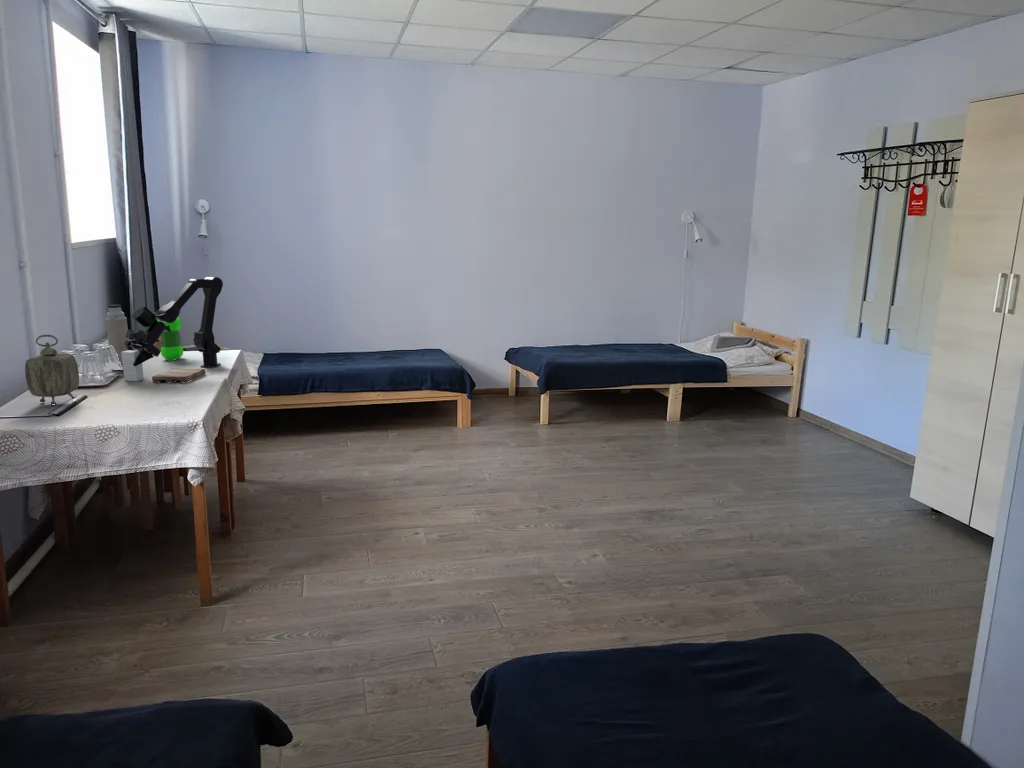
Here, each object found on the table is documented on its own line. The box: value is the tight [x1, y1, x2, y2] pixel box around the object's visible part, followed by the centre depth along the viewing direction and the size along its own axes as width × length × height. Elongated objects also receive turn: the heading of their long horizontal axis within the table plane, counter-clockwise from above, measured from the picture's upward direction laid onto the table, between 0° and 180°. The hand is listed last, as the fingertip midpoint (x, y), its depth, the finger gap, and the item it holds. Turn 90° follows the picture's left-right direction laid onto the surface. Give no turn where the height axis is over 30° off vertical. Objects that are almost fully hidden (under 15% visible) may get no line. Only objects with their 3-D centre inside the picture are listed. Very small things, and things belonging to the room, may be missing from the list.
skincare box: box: [121, 350, 145, 382], centre depth 301 cm, size 6×4×12 cm
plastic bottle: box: [156, 304, 184, 361], centre depth 341 cm, size 10×10×25 cm
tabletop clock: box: [24, 334, 80, 406], centre depth 262 cm, size 14×9×25 cm, turn 100°
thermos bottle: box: [105, 304, 130, 367], centre depth 321 cm, size 8×8×28 cm
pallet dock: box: [151, 367, 206, 383], centre depth 304 cm, size 16×14×2 cm
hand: (129, 364), depth 299 cm, fingers closed on skincare box, 7 cm apart
